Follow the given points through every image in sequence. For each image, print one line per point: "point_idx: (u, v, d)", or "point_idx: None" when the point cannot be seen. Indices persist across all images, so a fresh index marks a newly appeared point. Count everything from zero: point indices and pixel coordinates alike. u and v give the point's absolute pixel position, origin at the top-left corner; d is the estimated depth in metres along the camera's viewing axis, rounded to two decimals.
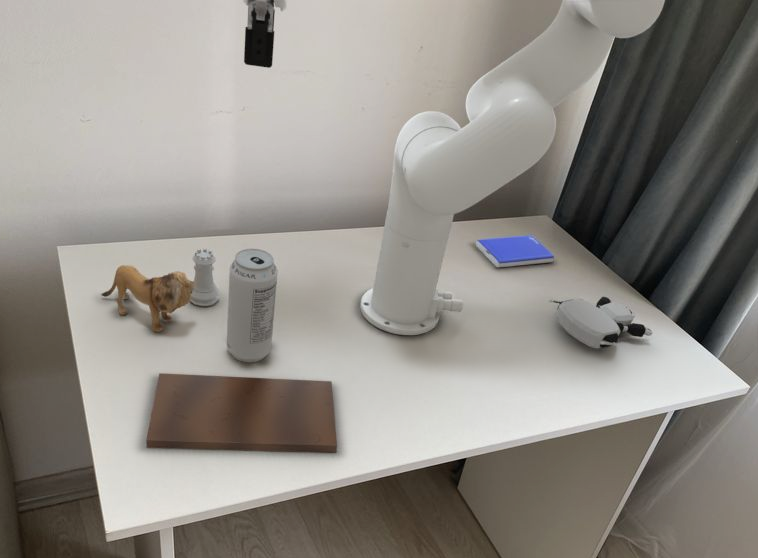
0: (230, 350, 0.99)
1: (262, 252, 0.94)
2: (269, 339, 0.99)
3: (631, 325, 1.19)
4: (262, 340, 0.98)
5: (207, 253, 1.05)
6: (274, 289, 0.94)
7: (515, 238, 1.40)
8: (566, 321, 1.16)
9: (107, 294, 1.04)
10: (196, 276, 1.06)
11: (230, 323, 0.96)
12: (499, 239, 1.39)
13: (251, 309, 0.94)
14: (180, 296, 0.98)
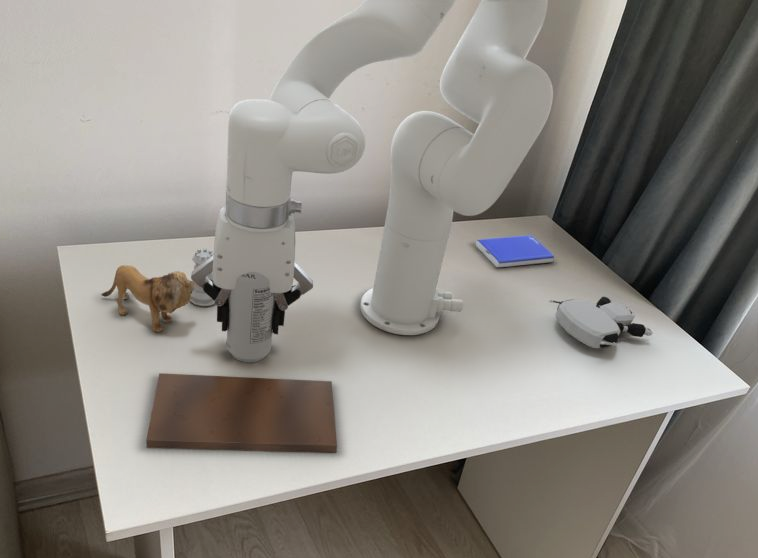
0: (230, 350, 0.99)
1: None
2: (269, 339, 0.99)
3: (631, 325, 1.19)
4: (262, 340, 0.98)
5: (207, 253, 1.05)
6: None
7: (515, 238, 1.40)
8: (566, 321, 1.16)
9: (107, 294, 1.04)
10: None
11: (230, 323, 0.96)
12: (499, 239, 1.39)
13: (251, 309, 0.94)
14: (180, 296, 0.98)
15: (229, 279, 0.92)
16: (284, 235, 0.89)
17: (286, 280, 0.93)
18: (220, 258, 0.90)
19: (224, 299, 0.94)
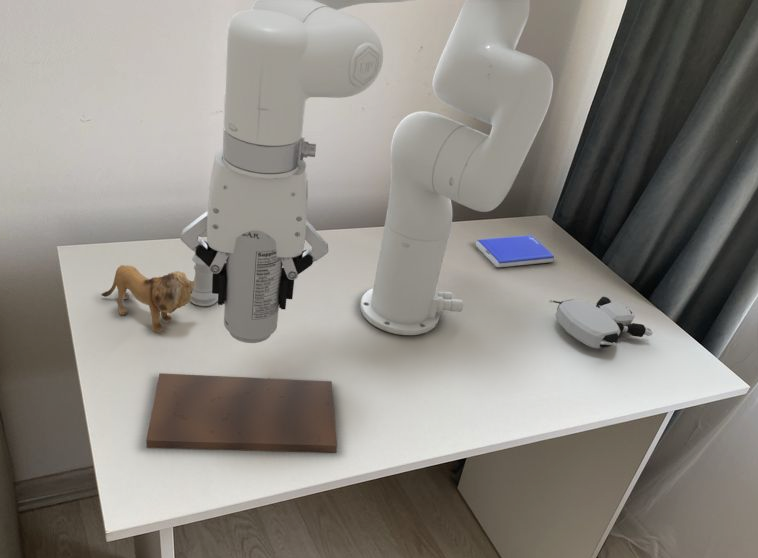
0: (228, 328, 0.82)
1: None
2: (275, 315, 0.83)
3: (631, 325, 1.19)
4: (267, 316, 0.81)
5: None
6: None
7: (515, 238, 1.40)
8: (566, 321, 1.16)
9: (107, 294, 1.04)
10: (196, 276, 1.06)
11: (227, 295, 0.80)
12: (499, 239, 1.39)
13: (254, 277, 0.77)
14: (180, 296, 0.98)
15: (227, 239, 0.75)
16: (295, 184, 0.72)
17: (296, 241, 0.76)
18: (216, 212, 0.73)
19: (221, 265, 0.78)
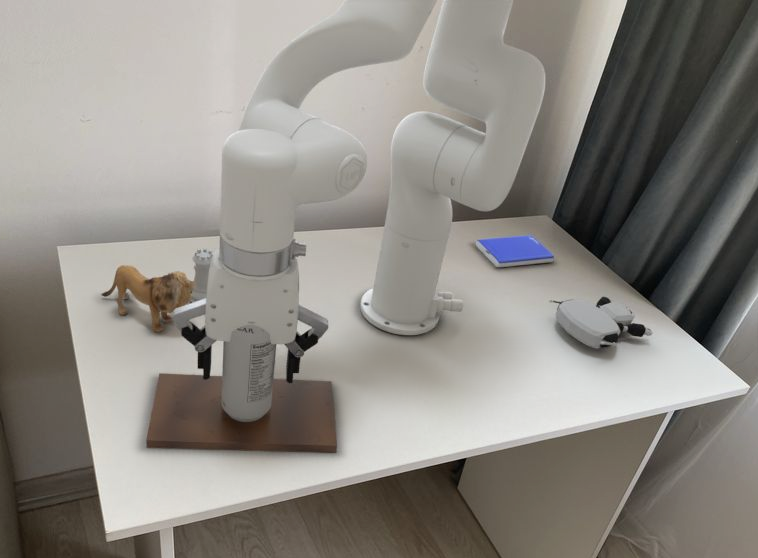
0: (225, 409, 0.88)
1: None
2: (269, 396, 0.88)
3: (631, 325, 1.19)
4: (261, 398, 0.87)
5: (207, 253, 1.05)
6: None
7: (515, 238, 1.40)
8: (566, 321, 1.16)
9: (107, 294, 1.04)
10: (196, 276, 1.06)
11: (224, 380, 0.86)
12: (499, 239, 1.39)
13: (249, 366, 0.83)
14: (180, 296, 0.98)
15: (224, 330, 0.81)
16: (287, 282, 0.78)
17: (289, 331, 0.82)
18: (213, 308, 0.79)
19: (205, 344, 0.82)
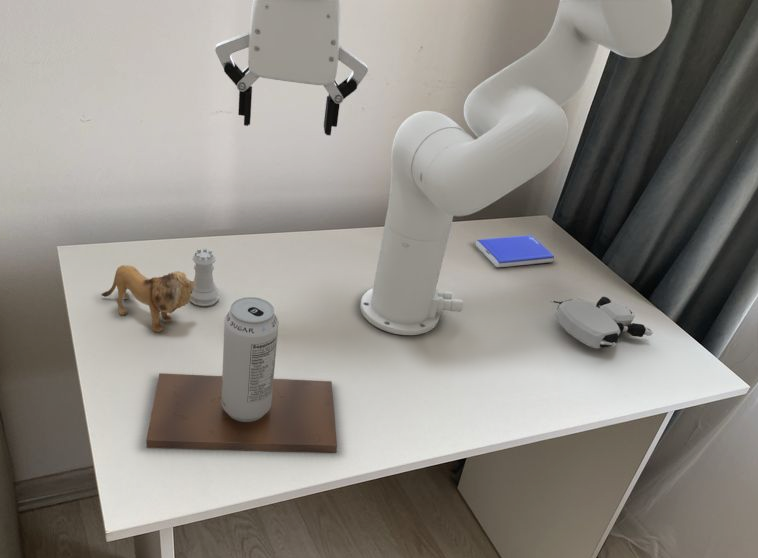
0: (225, 409, 0.88)
1: (261, 301, 0.83)
2: (269, 396, 0.88)
3: (631, 325, 1.19)
4: (261, 398, 0.87)
5: (207, 253, 1.05)
6: (275, 343, 0.84)
7: (515, 238, 1.40)
8: (566, 321, 1.16)
9: (107, 294, 1.04)
10: (196, 276, 1.06)
11: (225, 380, 0.86)
12: (499, 239, 1.39)
13: (249, 366, 0.83)
14: (180, 296, 0.98)
15: (267, 62, 0.82)
16: (330, 6, 0.79)
17: (330, 67, 0.83)
18: (257, 34, 0.80)
19: (247, 82, 0.84)
